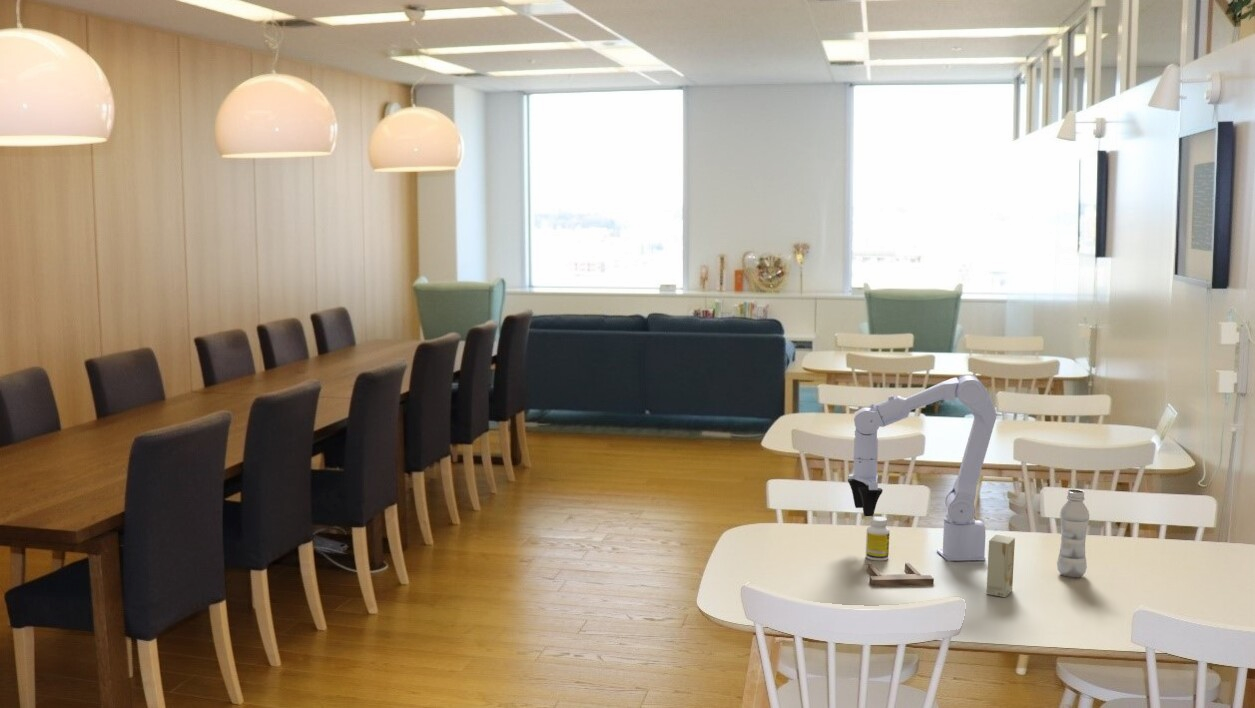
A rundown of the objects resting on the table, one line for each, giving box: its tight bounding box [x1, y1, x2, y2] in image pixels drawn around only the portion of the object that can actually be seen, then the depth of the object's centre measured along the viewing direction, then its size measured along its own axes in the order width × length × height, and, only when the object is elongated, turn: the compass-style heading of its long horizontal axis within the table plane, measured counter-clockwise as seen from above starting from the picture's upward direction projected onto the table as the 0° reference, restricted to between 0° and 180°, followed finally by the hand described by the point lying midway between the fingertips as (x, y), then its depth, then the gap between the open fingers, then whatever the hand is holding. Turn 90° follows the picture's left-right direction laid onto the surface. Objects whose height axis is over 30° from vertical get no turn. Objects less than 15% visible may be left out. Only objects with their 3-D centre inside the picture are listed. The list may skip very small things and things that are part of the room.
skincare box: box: [985, 534, 1016, 598], centre depth 257 cm, size 6×4×12 cm
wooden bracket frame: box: [866, 562, 935, 587], centre depth 268 cm, size 14×11×2 cm
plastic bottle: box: [1056, 489, 1090, 578], centre depth 268 cm, size 6×7×20 cm
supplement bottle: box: [865, 516, 890, 562], centre depth 282 cm, size 5×5×10 cm
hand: (864, 511), depth 287 cm, fingers open, 7 cm apart
